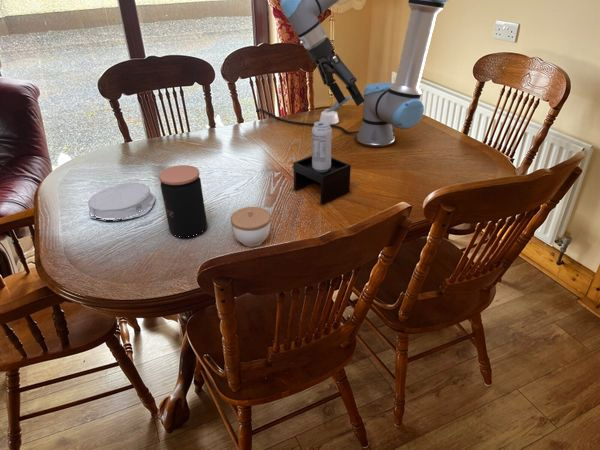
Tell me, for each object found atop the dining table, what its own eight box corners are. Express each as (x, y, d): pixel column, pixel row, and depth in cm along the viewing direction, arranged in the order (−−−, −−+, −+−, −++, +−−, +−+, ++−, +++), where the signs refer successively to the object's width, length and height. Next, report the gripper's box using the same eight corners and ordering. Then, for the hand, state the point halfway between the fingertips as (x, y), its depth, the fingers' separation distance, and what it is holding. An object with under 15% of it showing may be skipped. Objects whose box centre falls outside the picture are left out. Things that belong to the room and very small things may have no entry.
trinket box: (277, 233, 127) (276, 204, 122) (262, 254, 119) (260, 224, 114) (243, 227, 130) (240, 199, 125) (226, 247, 122) (222, 218, 117)
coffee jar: (173, 221, 134) (162, 165, 125) (209, 219, 135) (201, 163, 125) (167, 241, 125) (155, 183, 116) (206, 238, 126) (197, 181, 116)
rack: (293, 189, 150) (293, 162, 144) (320, 178, 156) (320, 152, 151) (323, 204, 141) (323, 176, 136) (349, 192, 147) (350, 165, 142)
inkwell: (315, 120, 207) (315, 98, 202) (346, 113, 215) (347, 92, 209) (326, 126, 200) (326, 103, 195) (358, 118, 208) (359, 97, 203)
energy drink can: (334, 168, 144) (335, 123, 136) (322, 174, 141) (322, 128, 133) (320, 163, 148) (320, 119, 140) (308, 169, 144) (307, 124, 136)
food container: (118, 230, 130) (112, 210, 126) (75, 213, 139) (69, 193, 136) (169, 201, 144) (165, 182, 141) (127, 187, 153) (122, 168, 150)
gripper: (293, 52, 147) (327, 107, 156) (323, 48, 124) (360, 111, 134) (311, 39, 147) (343, 94, 157) (343, 32, 125) (379, 96, 134)
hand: (351, 102), depth 145 cm, fingers open, 13 cm apart
